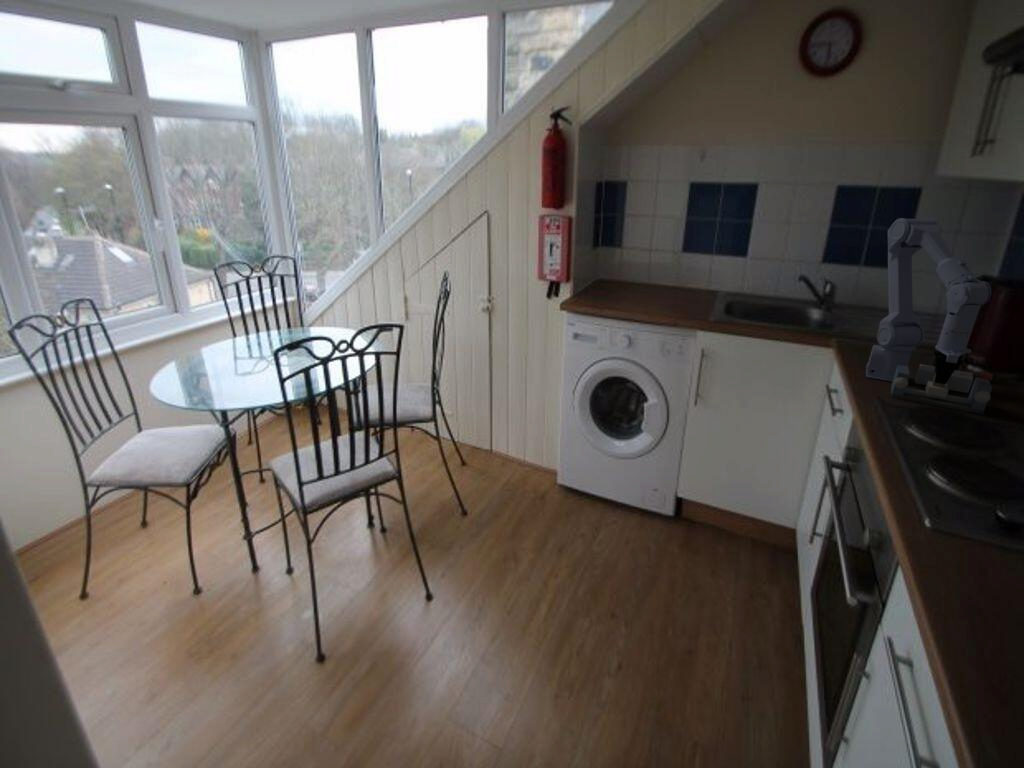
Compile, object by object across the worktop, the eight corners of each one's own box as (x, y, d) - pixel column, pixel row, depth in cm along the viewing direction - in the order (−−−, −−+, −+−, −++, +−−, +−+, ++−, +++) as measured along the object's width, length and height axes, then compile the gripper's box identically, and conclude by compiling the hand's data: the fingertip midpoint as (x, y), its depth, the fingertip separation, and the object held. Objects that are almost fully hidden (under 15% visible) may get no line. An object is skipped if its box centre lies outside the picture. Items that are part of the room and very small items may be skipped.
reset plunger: (979, 378, 133) (981, 374, 132) (978, 375, 135) (980, 371, 134) (992, 380, 132) (994, 376, 131) (990, 377, 134) (992, 373, 133)
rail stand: (889, 396, 142) (896, 372, 139) (889, 387, 148) (896, 364, 146) (984, 414, 132) (994, 388, 130) (980, 403, 138) (989, 378, 136)
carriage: (925, 397, 139) (934, 370, 136) (924, 391, 143) (933, 364, 140) (945, 400, 137) (954, 373, 134) (943, 394, 141) (952, 367, 138)
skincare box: (968, 387, 149) (915, 377, 156) (973, 373, 147) (920, 363, 154) (968, 394, 144) (913, 383, 151) (973, 379, 143) (918, 368, 150)
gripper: (981, 340, 126) (962, 394, 131) (973, 326, 137) (956, 376, 142) (943, 335, 129) (927, 387, 134) (939, 322, 140) (923, 370, 146)
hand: (939, 381), depth 138 cm, fingers closed on carriage, 2 cm apart
